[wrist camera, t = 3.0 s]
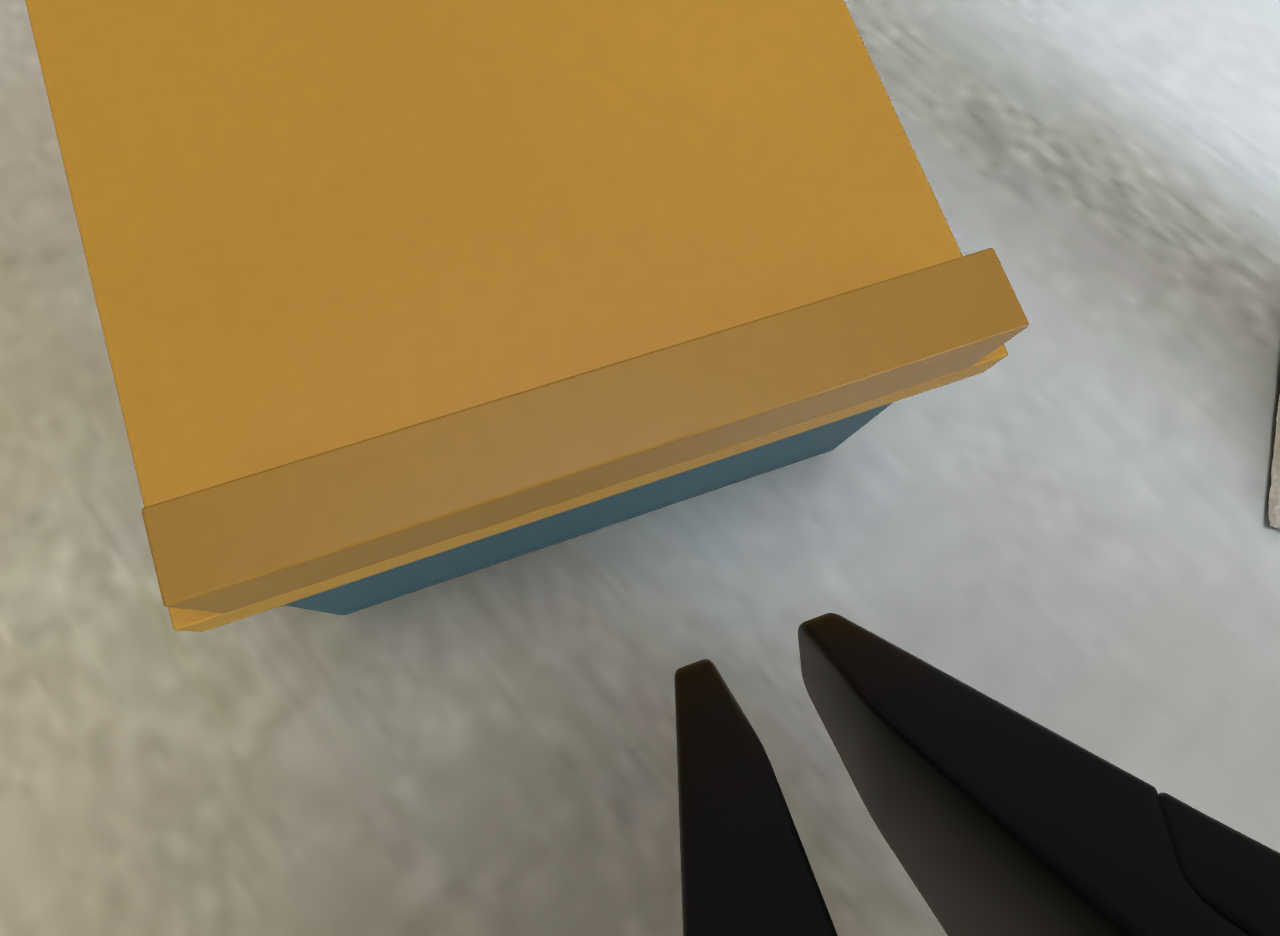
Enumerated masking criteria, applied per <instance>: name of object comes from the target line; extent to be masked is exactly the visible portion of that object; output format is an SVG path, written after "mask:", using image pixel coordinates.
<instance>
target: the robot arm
mask: <svg viewBox="0 0 1280 936" xmlns="http://www.w3.org/2000/svg"><path fill="white" fill-rule="evenodd" d="M798 640H799V650H800V660H801V670H802V677H803V681H804V684H805V687H806V689H807V692H808V694H809V696H810V698H811V700H812V702H813V704H814V706H815V708H816V710H817V712H818V714H819V716H820V718H821V720H822V722H823V724H824V726H825V728H826V730H827V732H828V734H829V736H830V737H831V739H832V741H833V743H834V745H835V747H836V749H837V751H838V753H839V755H840V757H841V759H842V761H843V763H844V765H845V767H846V769H847V771H848V773H849V775H850V777H851V779H852V781H853V783H854V785H855V787H856V789H857V791H858V793H859V795H860V796H861V798H862V800H863V802H864V804H865V806H866V808H867V810H868V812H869V813H870V815H871V817H872V819H873V820H874V822H875V824H876V825H877V827H878V829H879V830H880V832H881V833H882V835H883V837H884V838H885V840H886V841H887V843H888V844H889V846H890V848H891V849H892V851H893V852H894V854H895V855H896V857H897V858H898V860H899V861H900V863H901V864H902V866H903V867H904V869H905V870H906V872H907V874H908V875H909V877H910V878H911V880H912V881H913V883H914V884H915V886H916V887H917V889H918V890H919V892H920V893H921V895H922V896H923V898H924V899H925V901H926V903H927V904H928V906H929V907H930V909H931V910H932V912H933V913H934V915H935V916H936V918H937V919H938V921H939V922H940V924H941V925H942V927H943V929H944V930H945V932H946V933H947V935H948V936H1280V853H1278V852H1276V851H1274V850H1272V849H1270V848H1268V847H1267V846H1265V845H1263V844H1261V843H1259V842H1257V841H1255V840H1253V839H1251V838H1249V837H1247V836H1245V835H1244V834H1242V833H1240V832H1238V831H1236V830H1234V829H1232V828H1230V827H1228V826H1226V825H1224V824H1222V823H1220V822H1219V821H1217V820H1215V819H1213V818H1211V817H1209V816H1207V815H1205V814H1203V813H1202V812H1200V811H1198V810H1196V809H1194V808H1192V807H1191V806H1189V805H1187V804H1185V803H1183V802H1181V801H1180V800H1178V799H1176V798H1174V797H1172V796H1170V795H1169V794H1167V793H1160V794H1159V795H1158V793H1157V790H1156V789H1155V788H1154V787H1153V786H1151V785H1150V784H1148V783H1146V782H1144V781H1142V780H1140V779H1139V778H1137V777H1135V776H1133V775H1131V774H1129V773H1128V772H1126V771H1124V770H1122V769H1120V768H1118V767H1117V766H1115V765H1113V764H1111V763H1109V762H1107V761H1106V760H1104V759H1102V758H1100V757H1098V756H1096V755H1095V754H1093V753H1091V752H1089V751H1087V750H1085V749H1084V748H1082V747H1080V746H1078V745H1076V744H1074V743H1073V742H1071V741H1069V740H1067V739H1065V738H1063V737H1062V736H1060V735H1058V734H1056V733H1054V732H1052V731H1051V730H1049V729H1047V728H1045V727H1043V726H1042V725H1040V724H1038V723H1036V722H1034V721H1032V720H1031V719H1029V718H1027V717H1025V716H1023V715H1021V714H1020V713H1018V712H1016V711H1014V710H1012V709H1010V708H1009V707H1007V706H1005V705H1003V704H1001V703H999V702H998V701H996V700H994V699H992V698H990V697H988V696H987V695H985V694H983V693H981V692H979V691H977V690H976V689H974V688H972V687H970V686H968V685H966V684H965V683H963V682H961V681H959V680H957V679H955V678H954V677H952V676H950V675H948V674H946V673H944V672H943V671H941V670H939V669H937V668H935V667H933V666H932V665H930V664H928V663H926V662H924V661H922V660H921V659H919V658H917V657H915V656H913V655H911V654H910V653H908V652H906V651H904V650H902V649H900V648H899V647H897V646H895V645H893V644H891V643H889V642H888V641H886V640H884V639H882V638H880V637H878V636H877V635H875V634H873V633H871V632H869V631H867V630H866V629H864V628H862V627H860V626H858V625H856V624H855V623H853V622H851V621H849V620H847V619H846V618H844V617H842V616H840V615H838V614H834V613H828V614H824V615H822V616H819V617H816V618H814V619H811V620H808V621H805V622H803V623H802V624H801V625H800V626H799V629H798ZM675 704H676V734H677V763H678V793H679V822H680V852H681V881H682V911H683V936H838V935H837V933H836V930H835V928H834V925H833V922H832V920H831V917H830V915H829V912H828V910H827V907H826V904H825V902H824V899H823V897H822V894H821V892H820V889H819V886H818V884H817V881H816V879H815V876H814V874H813V871H812V868H811V866H810V863H809V861H808V858H807V856H806V853H805V850H804V848H803V845H802V843H801V840H800V838H799V835H798V832H797V830H796V827H795V825H794V822H793V820H792V817H791V814H790V812H789V809H788V807H787V804H786V802H785V799H784V796H783V794H782V791H781V789H780V786H779V784H778V781H777V778H776V776H775V773H774V771H773V768H772V766H771V763H770V761H769V759H768V756H767V754H766V752H765V750H764V747H763V745H762V744H761V742H760V740H759V738H758V736H757V735H756V733H755V731H754V730H753V728H752V726H751V725H750V723H749V721H748V720H747V718H746V716H745V715H744V713H743V711H742V710H741V708H740V706H739V705H738V703H737V701H736V700H735V698H734V696H733V695H732V693H731V691H730V690H729V688H728V686H727V685H726V683H725V682H724V680H723V678H722V677H721V675H720V673H719V672H718V670H717V668H716V667H715V665H714V664H713V663H712V662H711V661H710V660H708V659H703V660H700V661H698V662H695V663H692V664H690V665H687V666H684V667H682V668H679V669H678V670H677V671H676V673H675Z"/></svg>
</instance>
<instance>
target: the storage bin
mask: <svg viewBox="0 0 1280 936" xmlns="http://www.w3.org/2000/svg"><path fill="white" fill-rule="evenodd" d="M892 403H893V402H892ZM892 403H889V404H886V405H883V406H880V407H877V408H874V409H871V410H868V411H865V412H862V413H859V414H856V415H853V416H850V417H847V418H844V419H841V420H838V421H835V422H832V423H829V424H826V425H823V426H820V427H817V428H814V429H811V430H808V431H805V432H802V433H799V434H796V435H793V436H790V437H787V438H784V439H781V440H778V441H775V442H772V443H769V444H766V445H763V446H760V447H757V448H754V449H751V450H748V451H745V452H742V453H739V454H736V455H733V456H730V457H727V458H724V459H721V460H718V461H715V462H712V463H709V464H706V465H702V466H699V467H696V468H693V469H690V470H687V471H684V472H681V473H678V474H675V475H672V476H669V477H666V478H663V479H660V480H657V481H654V482H651V483H648V484H645V485H642V486H639V487H636V488H633V489H630V490H627V491H624V492H621V493H618V494H615V495H612V496H609V497H606V498H603V499H600V500H597V501H594V502H591V503H588V504H585V505H582V506H579V507H576V508H573V509H570V510H567V511H564V512H561V513H558V514H555V515H552V516H549V517H546V518H543V519H540V520H537V521H534V522H531V523H528V524H525V525H522V526H519V527H516V528H513V529H510V530H507V531H504V532H501V533H498V534H495V535H492V536H489V537H486V538H483V539H480V540H477V541H474V542H471V543H468V544H465V545H462V546H459V547H456V548H453V549H450V550H447V551H444V552H441V553H438V554H435V555H432V556H429V557H426V558H423V559H420V560H417V561H414V562H411V563H408V564H405V565H402V566H399V567H396V568H393V569H390V570H387V571H384V572H381V573H378V574H375V575H372V576H369V577H366V578H363V579H360V580H357V581H354V582H351V583H348V584H345V585H342V586H339V587H336V588H333V589H330V590H327V591H324V592H321V593H318V594H315V595H312V596H309V597H305V598H302V599H299V600H296V601H293V602H290V603H287V604H284V605H287V606H293V607H299V608H304V609H310V610H316V611H322V612H328V613H334V614H339V615H345V614H348V613H351V612H354V611H357V610H360V609H363V608H366V607H369V606H372V605H375V604H378V603H381V602H384V601H387V600H390V599H393V598H396V597H399V596H402V595H405V594H407V593H410V592H413V591H416V590H419V589H422V588H425V587H428V586H431V585H434V584H437V583H440V582H443V581H446V580H449V579H452V578H455V577H458V576H461V575H464V574H467V573H470V572H473V571H475V570H478V569H481V568H484V567H487V566H490V565H493V564H496V563H499V562H502V561H505V560H508V559H511V558H514V557H517V556H520V555H523V554H526V553H529V552H532V551H535V550H538V549H541V548H543V547H546V546H549V545H552V544H555V543H558V542H561V541H564V540H567V539H570V538H573V537H576V536H579V535H582V534H585V533H588V532H591V531H594V530H597V529H600V528H603V527H606V526H609V525H612V524H614V523H617V522H620V521H623V520H626V519H629V518H632V517H635V516H638V515H641V514H644V513H647V512H650V511H653V510H656V509H659V508H662V507H665V506H668V505H671V504H674V503H677V502H680V501H682V500H685V499H688V498H691V497H694V496H697V495H700V494H703V493H706V492H709V491H712V490H715V489H718V488H721V487H724V486H727V485H730V484H733V483H736V482H739V481H742V480H745V479H748V478H750V477H753V476H756V475H759V474H762V473H765V472H768V471H771V470H774V469H777V468H780V467H783V466H786V465H789V464H792V463H795V462H798V461H801V460H804V459H807V458H810V457H813V456H816V455H818V454H821V453H824V452H827V451H830V450H833V449H834V448H836V447H837V446H838V445H839V444H841V443H842V442H843V441H845V440H846V439H847V438H848V437H850V436H851V435H852V434H853V433H855V432H856V431H857V430H859V429H860V428H861V427H862V426H864V425H865V424H866V423H868V422H869V421H870V420H871V419H873V418H874V417H875V416H876V415H878V414H879V413H880V412H882V411H883V410H884V409H885V408H887V407H888V406H889V405H890V404H892Z"/></svg>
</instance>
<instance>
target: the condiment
mask: <svg viewBox="0 0 1280 936" xmlns="http://www.w3.org/2000/svg"><path fill="white" fill-rule="evenodd" d="M1271 478H1272V483H1271V488H1270V492H1269V513H1268V514H1269V520H1270V526H1272V527H1275V528H1278V529H1280V396H1279V403H1278V409H1277V418H1276V436H1275V442H1274V455H1273V461H1272V469H1271Z"/></svg>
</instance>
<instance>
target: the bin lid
mask: <svg viewBox="0 0 1280 936" xmlns="http://www.w3.org/2000/svg"><path fill="white" fill-rule="evenodd" d="M25 1H26V5H27V9H28V14H29V18H30V22H31V26H32V31H33V35H34V39H35V43H36V48H37V52H38V56H39V60H40V65H41V69H42V73H43V77H44V82H45V86H46V90H47V94H48V99H49V103H50V107H51V111H52V116H53V120H54V124H55V128H56V133H57V137H58V141H59V145H60V150H61V154H62V158H63V162H64V167H65V171H66V175H67V179H68V183H69V188H70V192H71V196H72V200H73V205H74V209H75V213H76V217H77V222H78V226H79V230H80V234H81V239H82V243H83V247H84V251H85V256H86V260H87V264H88V268H89V273H90V277H91V281H92V285H93V290H94V294H95V298H96V302H97V307H98V311H99V315H100V319H101V324H102V328H103V332H104V336H105V341H106V345H107V349H108V353H109V358H110V362H111V366H112V370H113V375H114V379H115V383H116V387H117V392H118V396H119V400H120V404H121V408H122V413H123V417H124V421H125V425H126V430H127V434H128V438H129V442H130V447H131V451H132V455H133V459H134V464H135V468H136V472H137V476H138V481H139V485H140V489H141V493H142V498H143V502H144V506H145V507H144V508H143V509H142V515H143V519H144V523H145V527H146V532H147V536H148V540H149V544H150V549H151V553H152V557H153V561H154V566H155V570H156V574H157V578H158V583H159V587H160V591H161V596H162V600H163V604H164V606H165V607H168V608H169V612H170V616H171V621H172V625H173V629H174V630H177V631H194V632H203V631H206V630H209V629H212V628H215V627H218V626H221V625H224V624H227V623H230V622H233V621H236V620H239V619H242V618H245V617H248V616H251V615H254V614H257V613H260V612H263V611H266V610H269V609H272V608H275V607H278V606H281V605H284V604H287V603H290V602H293V601H296V600H299V599H302V598H305V597H309V596H312V595H315V594H318V593H321V592H324V591H327V590H330V589H333V588H336V587H339V586H342V585H345V584H348V583H351V582H354V581H357V580H360V579H363V578H366V577H369V576H372V575H375V574H378V573H381V572H384V571H387V570H390V569H393V568H396V567H399V566H402V565H405V564H408V563H411V562H414V561H417V560H420V559H423V558H426V557H429V556H432V555H435V554H438V553H441V552H444V551H447V550H450V549H453V548H456V547H459V546H462V545H465V544H468V543H471V542H474V541H477V540H480V539H483V538H486V537H489V536H492V535H495V534H498V533H501V532H504V531H507V530H510V529H513V528H516V527H519V526H522V525H525V524H528V523H531V522H534V521H537V520H540V519H543V518H546V517H549V516H552V515H555V514H558V513H561V512H564V511H567V510H570V509H573V508H576V507H579V506H582V505H585V504H588V503H591V502H594V501H597V500H600V499H603V498H606V497H609V496H612V495H615V494H618V493H621V492H624V491H627V490H630V489H633V488H636V487H639V486H642V485H645V484H648V483H651V482H654V481H657V480H660V479H663V478H666V477H669V476H672V475H675V474H678V473H681V472H684V471H687V470H690V469H693V468H696V467H699V466H702V465H706V464H709V463H712V462H715V461H718V460H721V459H724V458H727V457H730V456H733V455H736V454H739V453H742V452H745V451H748V450H751V449H754V448H757V447H760V446H763V445H766V444H769V443H772V442H775V441H778V440H781V439H784V438H787V437H790V436H793V435H796V434H799V433H802V432H805V431H808V430H811V429H814V428H817V427H820V426H823V425H826V424H829V423H832V422H835V421H838V420H841V419H844V418H847V417H850V416H853V415H856V414H859V413H862V412H865V411H868V410H871V409H874V408H877V407H880V406H883V405H886V404H889V403H892V402H895V401H898V400H901V399H904V398H907V397H910V396H913V395H916V394H919V393H922V392H925V391H928V390H931V389H934V388H937V387H940V386H943V385H946V384H949V383H952V382H955V381H958V380H961V379H964V378H967V377H970V376H973V375H976V374H979V373H982V372H984V371H985V370H987V369H988V368H990V367H991V366H993V365H994V364H996V363H997V362H999V361H1000V360H1002V359H1003V358H1004V357H1006V356H1007V355H1008V352H1007V350H1006V348H1005V346H1004V343H1005V342H1007V341H1008V340H1010V339H1011V338H1012V337H1014V336H1015V335H1016V334H1018V333H1019V332H1021V331H1022V330H1023V329H1025V328H1026V327H1027V326H1028V325H1029V323H1028V320H1027V318H1026V316H1025V314H1024V312H1023V310H1022V308H1021V306H1020V304H1019V302H1018V299H1017V297H1016V295H1015V293H1014V291H1013V289H1012V287H1011V285H1010V283H1009V280H1008V278H1007V276H1006V274H1005V272H1004V270H1003V268H1002V266H1001V264H1000V261H999V259H998V257H997V255H996V253H995V251H994V249H993V248H989V249H986V250H983V251H979V252H976V253H973V254H969V255H966V256H962V254H961V252H960V249H959V247H958V245H957V243H956V241H955V239H954V237H953V234H952V232H951V230H950V228H949V226H948V224H947V222H946V219H945V217H944V215H943V213H942V211H941V209H940V206H939V204H938V202H937V200H936V198H935V196H934V194H933V191H932V189H931V187H930V185H929V183H928V181H927V179H926V176H925V174H924V172H923V170H922V168H921V166H920V164H919V161H918V159H917V157H916V155H915V153H914V151H913V149H912V146H911V144H910V142H909V140H908V138H907V136H906V133H905V131H904V129H903V127H902V125H901V123H900V121H899V118H898V116H897V114H896V112H895V110H894V108H893V106H892V103H891V101H890V99H889V97H888V95H887V93H886V91H885V88H884V86H883V84H882V82H881V80H880V78H879V76H878V73H877V71H876V69H875V67H874V65H873V63H872V60H871V58H870V56H869V54H868V52H867V50H866V48H865V45H864V43H863V41H862V39H861V37H860V35H859V33H858V30H857V28H856V26H855V24H854V22H853V20H852V18H851V15H850V13H849V11H848V9H847V7H846V5H845V3H844V0H25Z"/></svg>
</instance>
